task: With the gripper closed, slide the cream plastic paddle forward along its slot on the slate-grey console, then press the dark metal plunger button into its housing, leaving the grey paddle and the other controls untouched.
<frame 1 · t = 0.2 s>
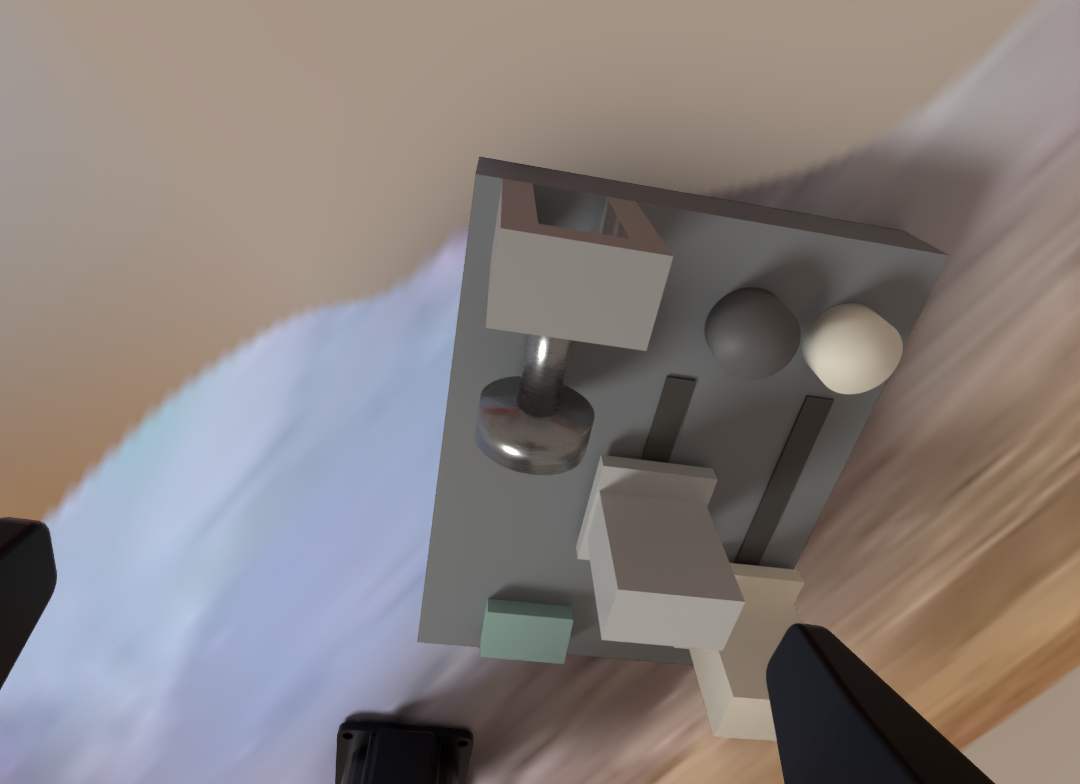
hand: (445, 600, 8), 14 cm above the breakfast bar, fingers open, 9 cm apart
cream paddle: (753, 657, 23), point 5 cm above the breakfast bar, slide at 0.0 cm
grey paddle: (655, 559, 20), point 5 cm above the breakfast bar, slide at 3.0 cm
plunger: (547, 356, 17), point 4 cm above the breakfast bar, slide at 0.0 cm
console: (629, 439, 24), on the breakfast bar
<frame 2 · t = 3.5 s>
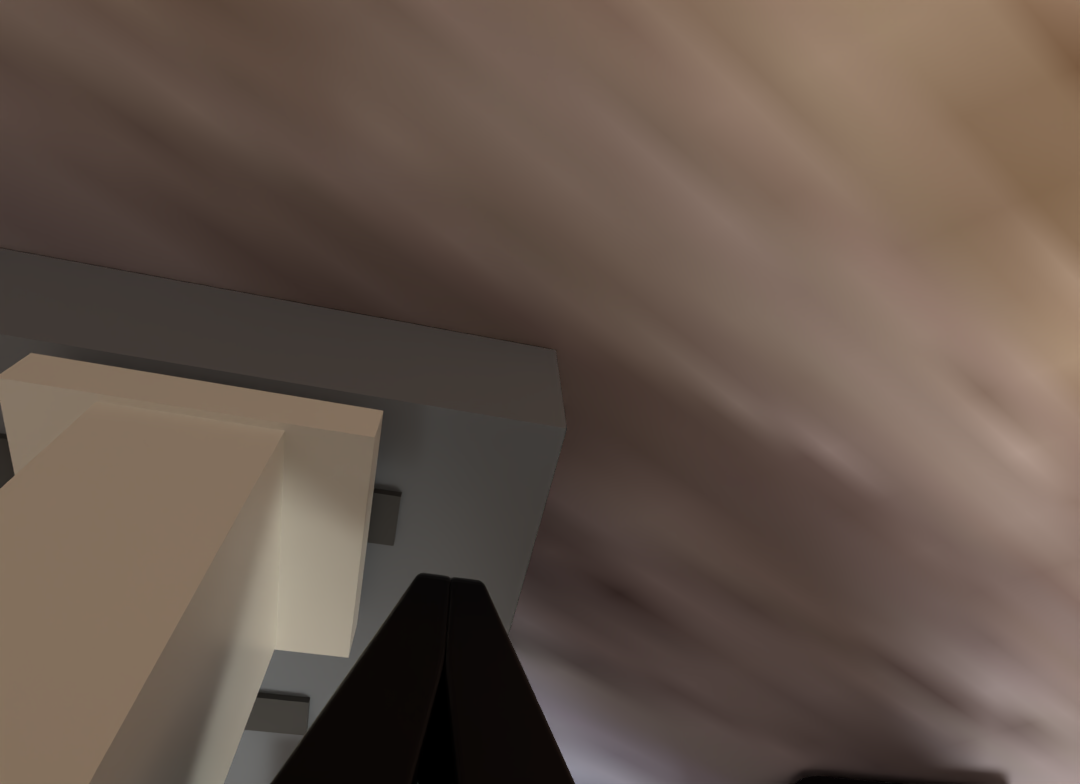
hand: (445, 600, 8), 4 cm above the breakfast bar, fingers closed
cream paddle: (122, 659, 7), point 5 cm above the breakfast bar, slide at 0.4 cm, touching gripper
console: (22, 577, 13), on the breakfast bar
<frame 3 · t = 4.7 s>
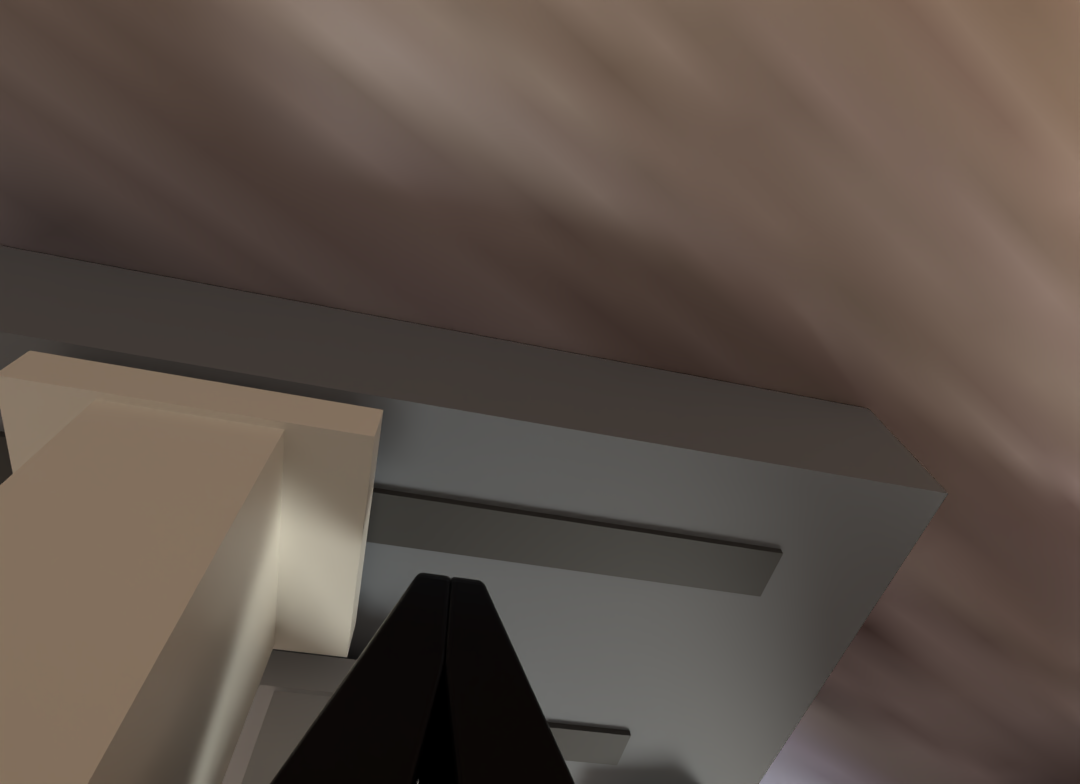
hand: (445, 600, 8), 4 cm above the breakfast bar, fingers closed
cream paddle: (120, 658, 7), point 5 cm above the breakfast bar, slide at 6.0 cm, touching gripper
console: (321, 612, 13), on the breakfast bar
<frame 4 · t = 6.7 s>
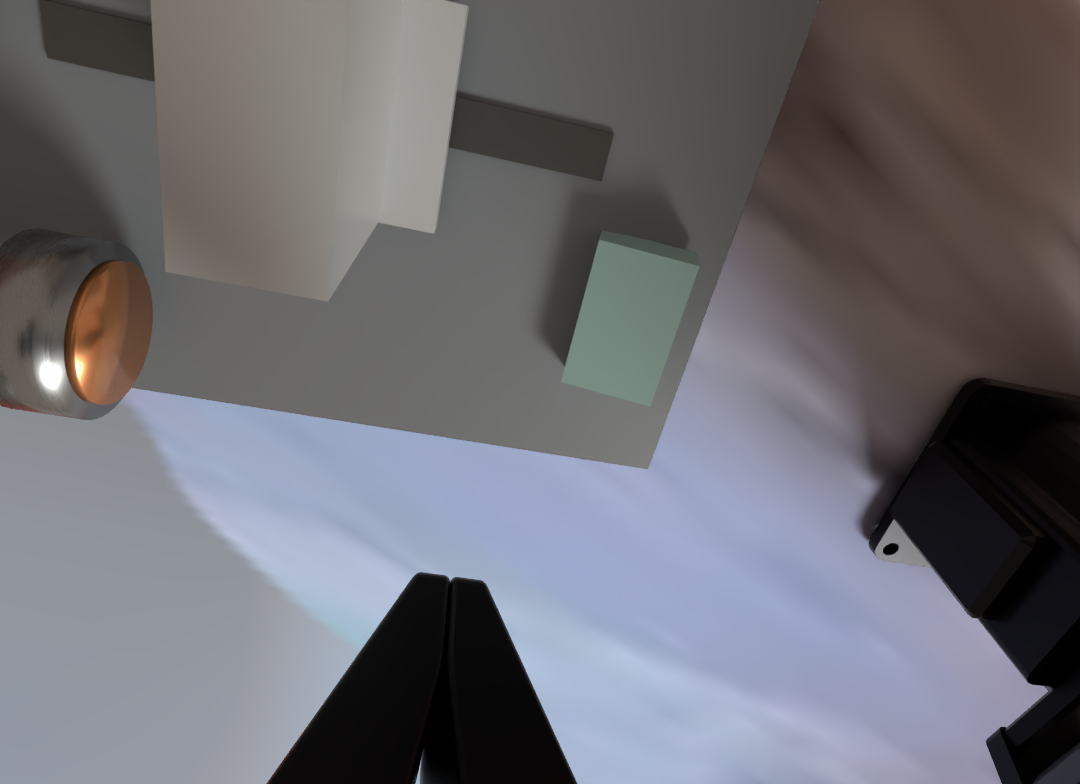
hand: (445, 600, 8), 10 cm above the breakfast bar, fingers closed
grey paddle: (304, 115, 10), point 5 cm above the breakfast bar, slide at 3.0 cm
console: (319, 87, 14), on the breakfast bar
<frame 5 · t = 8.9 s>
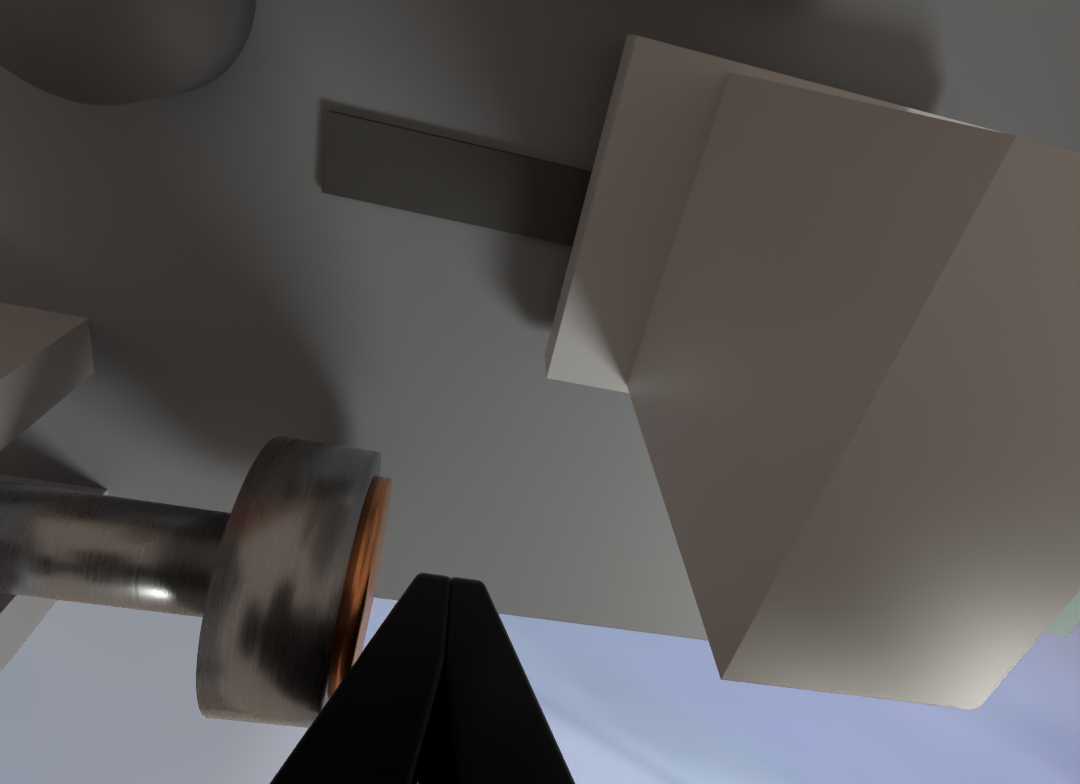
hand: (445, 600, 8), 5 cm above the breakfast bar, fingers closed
grey paddle: (820, 329, 6), point 5 cm above the breakfast bar, slide at 3.0 cm
plunger: (117, 550, 8), point 4 cm above the breakfast bar, slide at 0.5 cm, touching gripper
console: (622, 199, 10), on the breakfast bar
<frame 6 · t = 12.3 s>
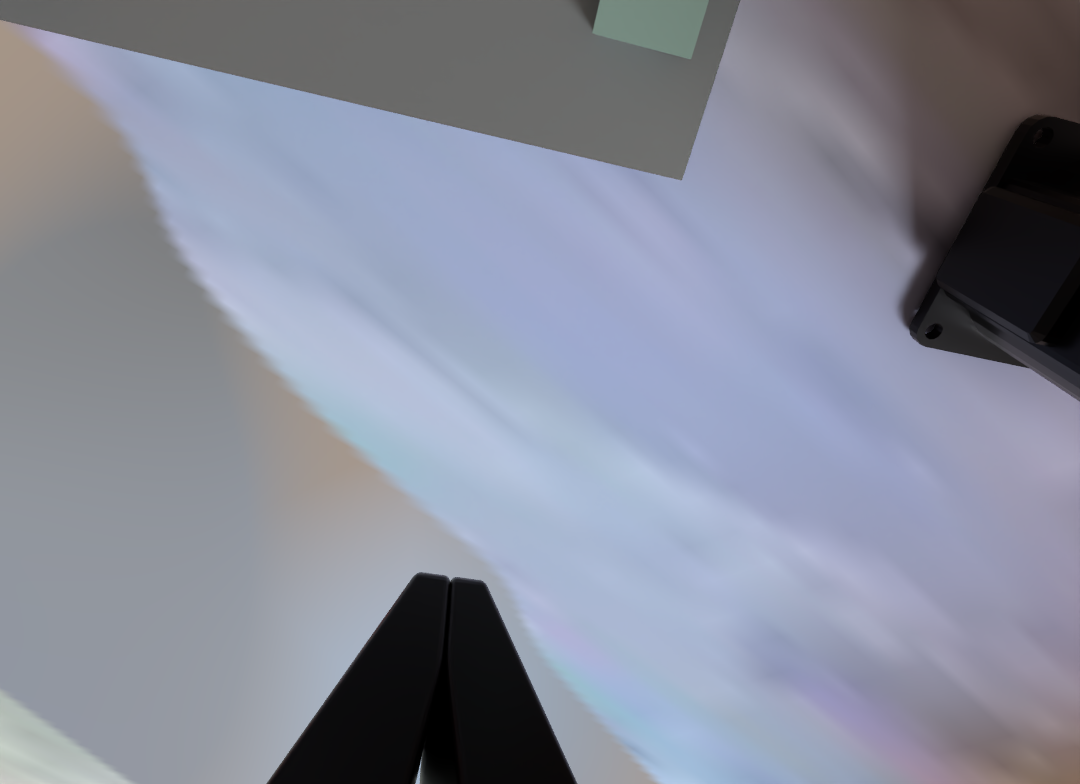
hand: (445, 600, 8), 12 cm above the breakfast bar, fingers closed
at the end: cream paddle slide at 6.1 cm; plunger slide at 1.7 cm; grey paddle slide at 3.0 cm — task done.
